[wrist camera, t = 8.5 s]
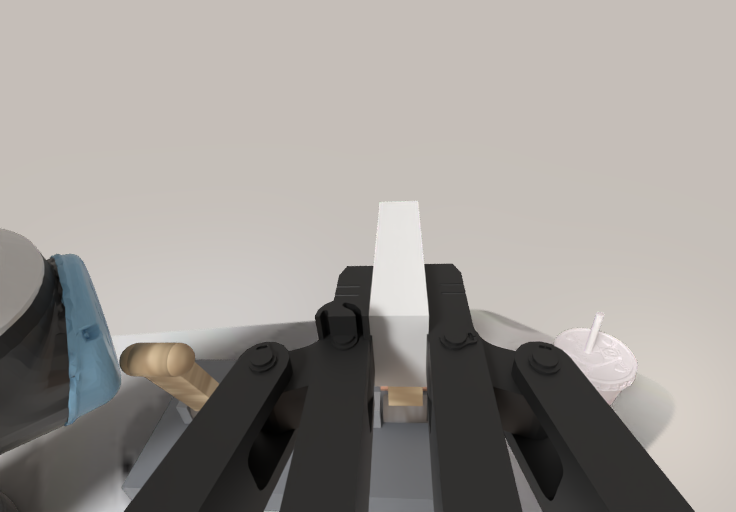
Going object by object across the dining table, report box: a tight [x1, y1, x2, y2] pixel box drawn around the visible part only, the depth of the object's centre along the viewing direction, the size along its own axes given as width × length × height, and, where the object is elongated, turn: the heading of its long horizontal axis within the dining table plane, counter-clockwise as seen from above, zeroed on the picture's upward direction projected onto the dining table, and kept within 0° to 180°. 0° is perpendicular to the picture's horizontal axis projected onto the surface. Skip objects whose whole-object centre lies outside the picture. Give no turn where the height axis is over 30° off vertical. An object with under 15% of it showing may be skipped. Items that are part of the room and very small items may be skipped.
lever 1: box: [119, 343, 219, 418], centre depth 33 cm, size 5×2×13 cm, turn 86°
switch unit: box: [121, 360, 434, 512], centre depth 37 cm, size 30×14×6 cm, turn 86°
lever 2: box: [383, 386, 428, 423], centre depth 34 cm, size 5×2×13 cm, turn 86°
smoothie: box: [553, 311, 638, 406], centre depth 34 cm, size 6×6×14 cm
